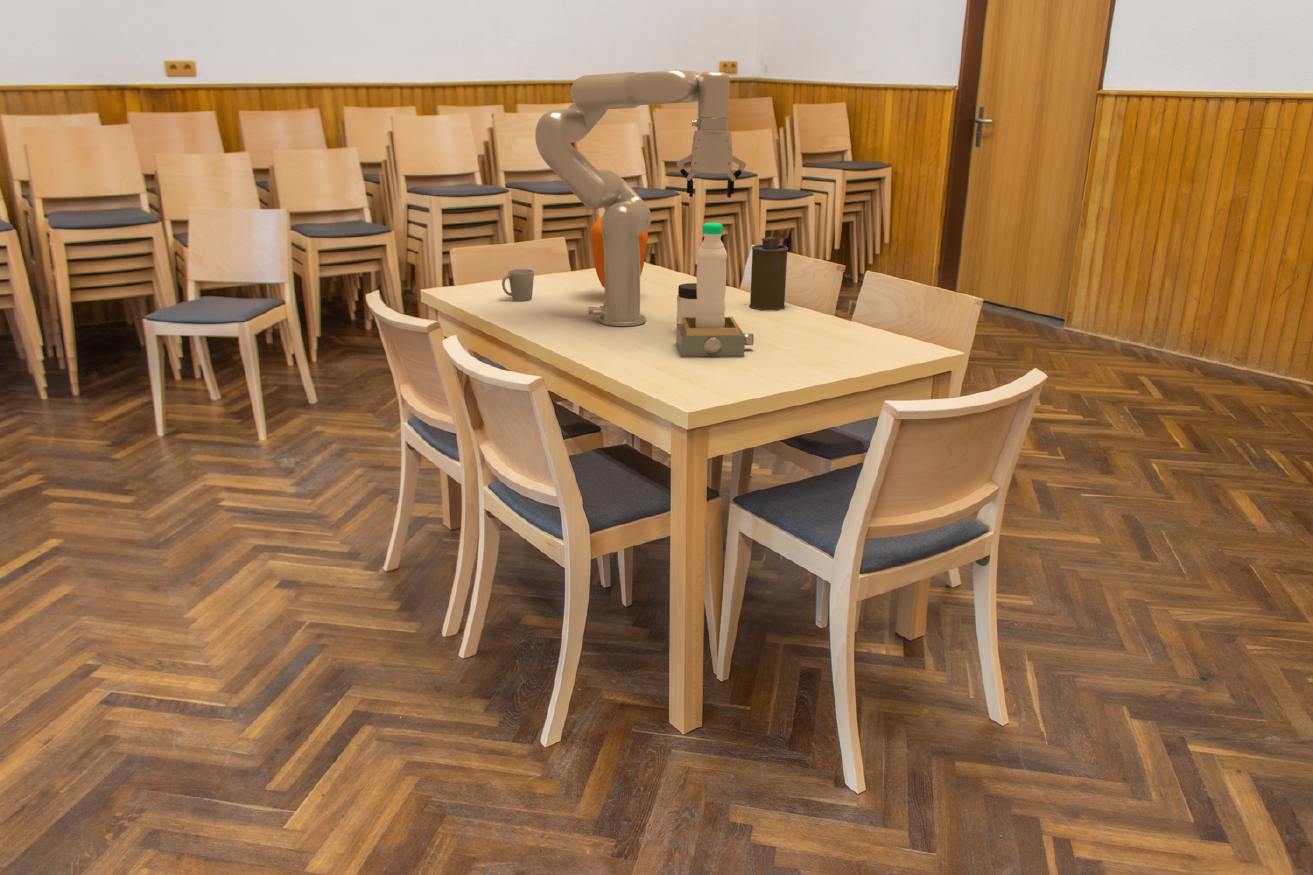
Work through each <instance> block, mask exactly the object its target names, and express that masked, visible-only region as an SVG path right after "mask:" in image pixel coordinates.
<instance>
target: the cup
mask: <svg viewBox="0 0 1313 875" xmlns="http://www.w3.org/2000/svg"><path fill="white" fill-rule="evenodd" d="M534 275H535V271H534V270H533V269H527V268H517V269H509V270H508V272H507V274H506V275H504V277H503V278H502V283H501V284H502V286H501V287H502V289H503V292H504V293H505V294H506V295H507V296H510V297H511V298H512V300H513V301H514V300H515V302H529V301H531V300H532V299H533V290H534V289H533V287H534V281H535V280H534V278H535V276H534ZM507 279H508V280H509V287H510V288H509V289H510V291H508V290H507V289H506V284H505V283H506V280H507ZM528 300H529V301H528Z"/></svg>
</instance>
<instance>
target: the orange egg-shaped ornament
mask: <svg viewBox="0 0 1313 875" xmlns="http://www.w3.org/2000/svg"><path fill="white" fill-rule="evenodd" d="M602 217H603V215H602V216H600V217H599V218H598V219H597V220H596V221H595V222H594V224H593V225H592V226H591V228H590V230H589V237H590V243H591V248H592V259H593V264H594V268H595V272H596V276H597V279H598V280H599V282H600V285H601V286H602V287H603V288H604V289H605V264H604V242H603V236H602V228H601V222H602ZM648 239H649V233H648V229H647V230H646V231H645V232H643V233H641V234H639V235H638V242H639V248H640V277H641V275H642V272H643V269H644V264H645V259H646V254H647V253H646V252H647V245H648Z"/></svg>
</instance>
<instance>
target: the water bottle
mask: <svg viewBox="0 0 1313 875" xmlns="http://www.w3.org/2000/svg"><path fill="white" fill-rule="evenodd" d="M723 233H724V226H723V224H722V223H721V222H705V223H704V224H702V235H703V237H704V238H703V240H702V242H701V245H700V246H699V248H698V250H697V254H696V260H697V265H696V283H697V284H696V287H697V301H696V322H695V326H696V328H724V327H725V317H726V316H725V312H726V299H725V297H726V289H727V287H726V286H727V262H726V261H727V259H728V253H727V250H726V248H725V247H724V246H725V245H724V243H723V241H722V240H721V237H722V235H723Z"/></svg>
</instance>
